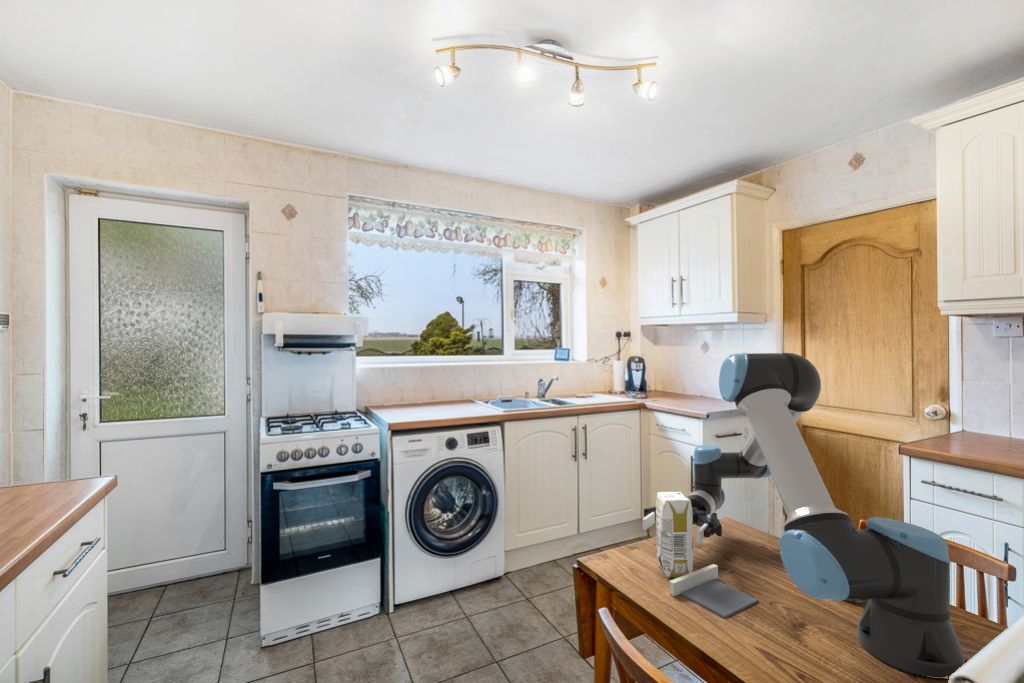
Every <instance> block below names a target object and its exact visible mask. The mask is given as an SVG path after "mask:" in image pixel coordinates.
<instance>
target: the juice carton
mask: <svg viewBox="0 0 1024 683" xmlns="http://www.w3.org/2000/svg"><path fill="white" fill-rule="evenodd" d="M655 507H656V521H655V524H656V525H655V527H656V528H655V529H656V531H655V532H656V533H655V535H656V536H655V538H656V540H655V542H656V544H655V545H656V547H655V548H656V559H657V564H658V566H659V568H660V569H661V571H663V573H664V575H665V576H666V577H667V578H671V579H672V578H679V577H681V576H684V575H686V574H689V573H692V572H693V569H694V568H693V567H694V537H693V536H694V535H693V534H694V533H693V532H694V530H693V526H694V525H693V516H692V505H691V500H689V499H688V498H687V497H686V496H685V495H684V494H683V492H682V491H658V492H657V494H656V500H655Z"/></svg>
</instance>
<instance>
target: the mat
mask: <svg viewBox="0 0 1024 683" xmlns="http://www.w3.org/2000/svg"><path fill="white" fill-rule="evenodd" d="M680 595H681V596H682V597H684V598H686V599H688V600H690V601H692V602H693V603H695V604H697V605H699V606H700V607H703V608H705V609H706V610H708V611H710V612H713V613H714V614H716V615H718V616H720V618H721V617H722V618H723V619H727V618H729V617H731V616H733V615H734V614H736V613H738V612H741V611H743V610H745V609H747V608H748V607H751V606H753V605H755V604H757V603H759V599H758V598H756V597H753V596H751V595H750V594H747V593H745V592H743V591H741V590H739V589H736V588H734V587H732V586H730V585H728V584H727V583H724V582H722V581H720V580H717V579H713V580H711V581H708V582H706V583H703V584H701V585H699V586H696V587H694V588H691V589H689V590H686V591H684V592H682V593H681V594H680ZM726 617H727V618H726Z"/></svg>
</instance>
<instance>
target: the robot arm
mask: <svg viewBox="0 0 1024 683" xmlns="http://www.w3.org/2000/svg"><path fill="white" fill-rule="evenodd" d="M719 370H720V371H719V376H718V377H719V378H718V389H719V393H720V396H721V398H722V399H723V400H724V401H725V402H729V403H734V404H735V405H736V406H735V407H736V408H737V411H738V413H739V414H740V415H742V416H745V417H747V418H748V421H749V423H750V425H751V427H752V433H750V436H749V438H748V439H747V441H746V442H745V444H744V445H743V447H742V449H741V450H740V451H739V452H731V451H730V452H722V451H721V448H720V447H718V446H716V445H712V444H711V445H709V444H708V445H707V444H700V445H697V446H695V447H694V452H693V471H694V472H693V473H694V474H693V476H694V477H693V478H694V482H693V484H694V485H693V486H694V487H693V488H694V491H693V492H692V493H690V494H689V495H688V496H687V497H686V498H688V499H689V500H691V505H692V516H693V526H694V525H695V526H697V527H699V528H698V529H697V530H696V531H695V534H696V535H695V536H696V537H695V538H696V539H695V540H696V541H695V542H696V544H701V543H702V542H703V541H704V540H705V539H706V538H710V537H711V536H714V535H716V536H718V537H722V536H723V526H722V524H721V522H720V520H719V519H718V513H716V512H717V511H718V510H719V509H721V508H722V507H723V504H724V502H726V501H725V500H726V493H725V491H724V490H723V488H722V479H756V480H757V479H762V478H769V477H771V479H772V480H773V481H772V482H773V483H774V487H775V489H776V490H777V494H778V495H779V498H780V500H781V503H782V507H783V508H784V511H785V513H786V516H787V518H786V521H785V522H784V524H783V526H782V527H783V530H784V532H783V533H782V535H781V537H780V539H779V546H778V547H779V548H780V551H779V554H780V559H781V562H782V564H783V567H784V569H785V571H786V573H787V575H788V576H789V578H790V580H791V581H792V582H793V583H794V585H795V586H796V587H797V588H798V589H799V590H801V591H802V592H803V593H804V594H806V596H808V597H809V598H810V597H811V598H812V599H815V600H826V601H827V600H828V601H835V602H842V601H846V600H847V599H868V601H866V603H865V606H864V608H863V610H862V613H861V614H860V617H859V620H858V622H857V640H858V642H859V644H860V645H861V646H862V647H863V648H864V649H865V650H866V651H867V652H868V653H869V654H871V655H872V656H873V657H875V658H877V659H878V660H880V661H881V662H883V663H885V664H887V665H889V666H890V667H894V668H896V669H899V670H900V669H901V671H903V672H906V673H908V674H912V673H913V674H912V675H915V674H917V675H916V676H919V675H924V676H931V677H939V678H940V677H946V676H948V678H949V676H950V675H951V674H952V673H954V672H955V671H956V670H957V669H958V668H959V667H961V666H962V665H963V664H964V663H965V662H966V660H965V659H966V658H965V654H964V652H963V649H962V646H961V644H960V642H959V639H958V636H957V634H956V631H955V629H954V627H953V624H952V621H951V566H950V565H951V563H952V562H951V560H950V558H949V556H950V554H949V545H948V542H947V541H946V540H945V539H944V538H943V537H942V536H941V535H939V534H938V533H936V532H934V531H932V530H930V529H927V528H924V527H921V526H920V525H919V526H918V525H916V524H913V523H910V522H905V521H901V520H896V519H894V518H893V519H892V518H887V517H879V516H878V517H875V516H874V517H869V518H868V519H867V520H866V523H865V527H866V529H863V528H862V529H856V528H855V525H854V524H853V521H852V520H851V517H850V516H849V514H848V513H847V512H845V511H842V510H840V509H838V508H836V506H835V504H834V502H833V500H832V498H831V495H830V493H829V490H828V489H827V488H826V485H825V483H824V480H823V478H822V476H821V474H820V472H819V470H818V468H817V466H816V464H815V462H814V460H813V457H812V454H811V452H810V451H809V448H808V446H807V445H806V442H805V440H804V438H803V436H802V433H801V432H800V429H799V427H798V425H797V422H798V421H799V419H800V417H802V415H803V413H807V412H810V410H812V408H813V407H814V406H815V404H816V403H817V401H818V399H819V397H820V393H821V391H822V388H821V387H822V382H821V380H822V379H821V377H820V373H819V370H817V368H816V366H815V365H814V364H813V363H812V362H811V361H810V360H809V359H807V358H806V357H804V356H802V355H799V354H797V353H793V352H779V353H778V352H771V353H770V352H767V353H765V352H763V353H762V352H761V353H755V352H754V353H748V352H742V353H733V354H729V355H728V356H727V357H726V358H725V359H724V360H723V362H722V364H721V365H720V369H719ZM641 519H642V520H641V521H642V522H641V523H642V527H641V528H642V530H643V531H646V530H648V529H649V528H650V527H651V526H653V525H654V524H656V506H652V507H646V508H643V518H641ZM965 664H966V663H965Z"/></svg>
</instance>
